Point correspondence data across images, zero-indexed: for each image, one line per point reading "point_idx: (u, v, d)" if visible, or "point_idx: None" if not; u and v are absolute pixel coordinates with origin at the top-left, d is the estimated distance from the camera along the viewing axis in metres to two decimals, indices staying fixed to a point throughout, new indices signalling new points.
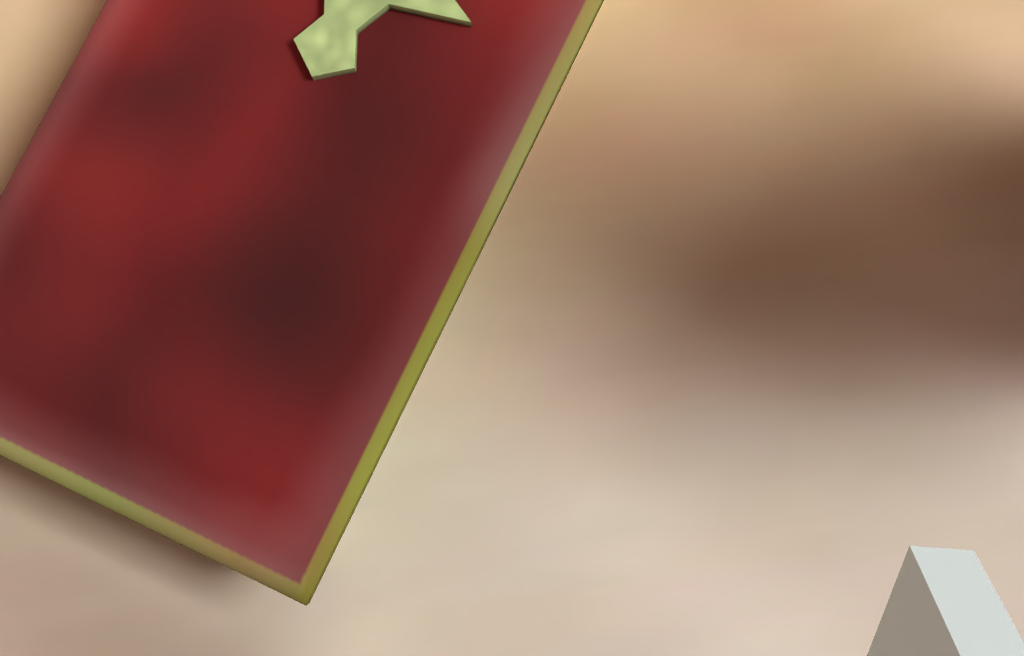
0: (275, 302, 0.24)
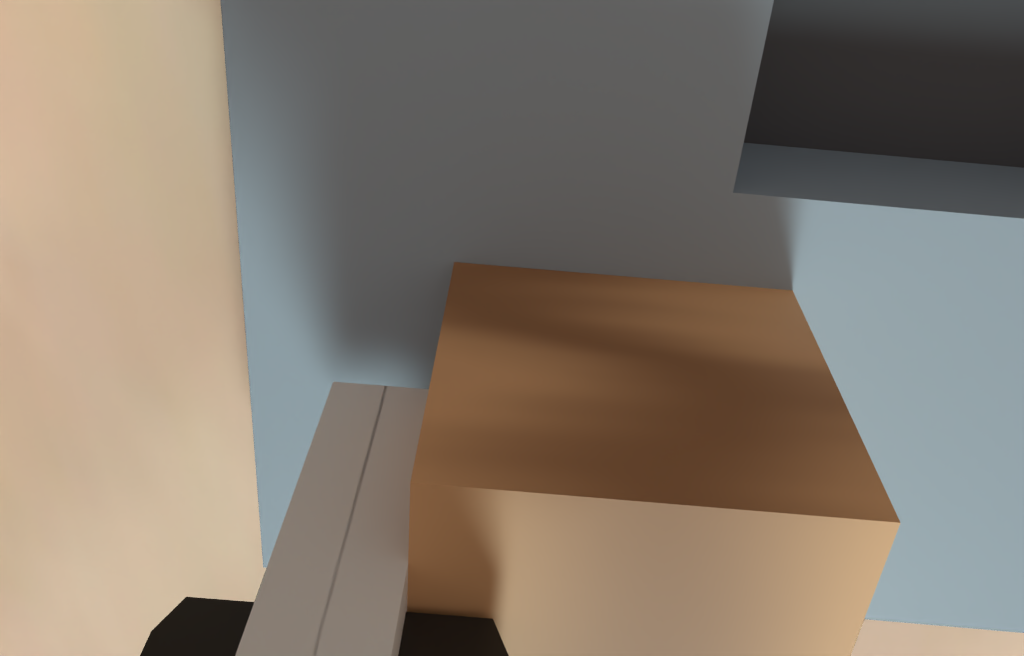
0: None
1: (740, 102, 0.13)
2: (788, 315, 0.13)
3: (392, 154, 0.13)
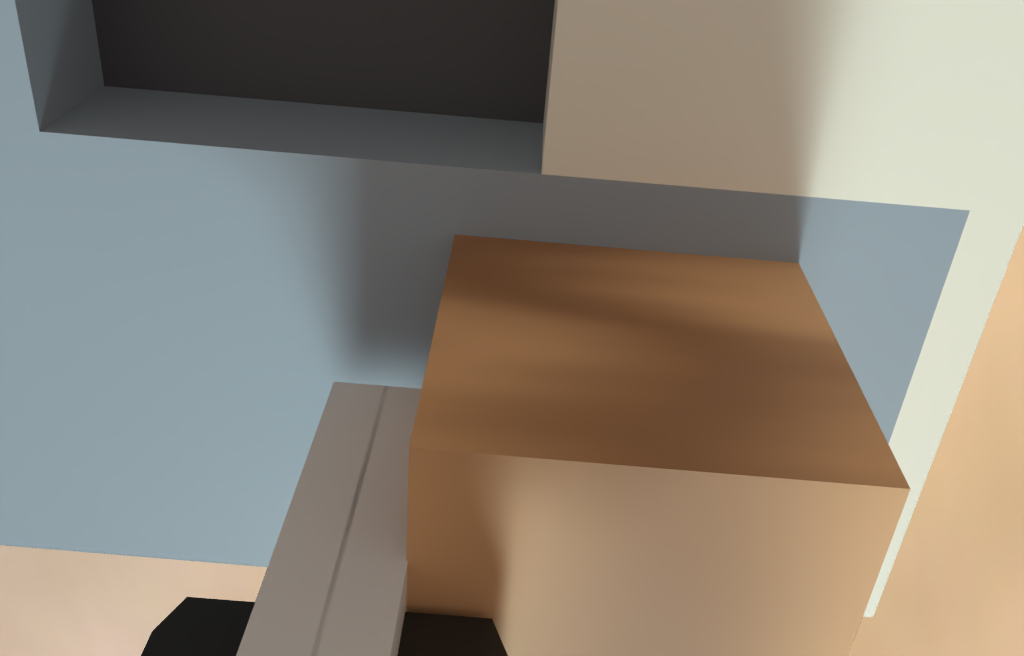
0: None
1: None
2: (794, 287, 0.13)
3: None
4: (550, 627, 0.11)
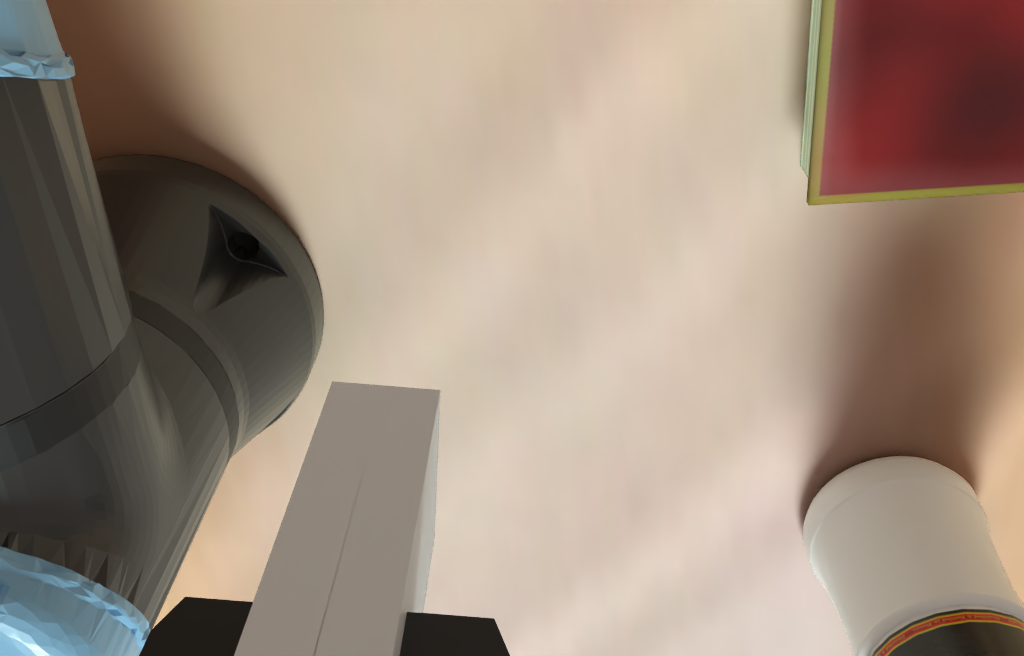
0: (983, 97, 0.37)
1: None
2: None
3: None
4: None
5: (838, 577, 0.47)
